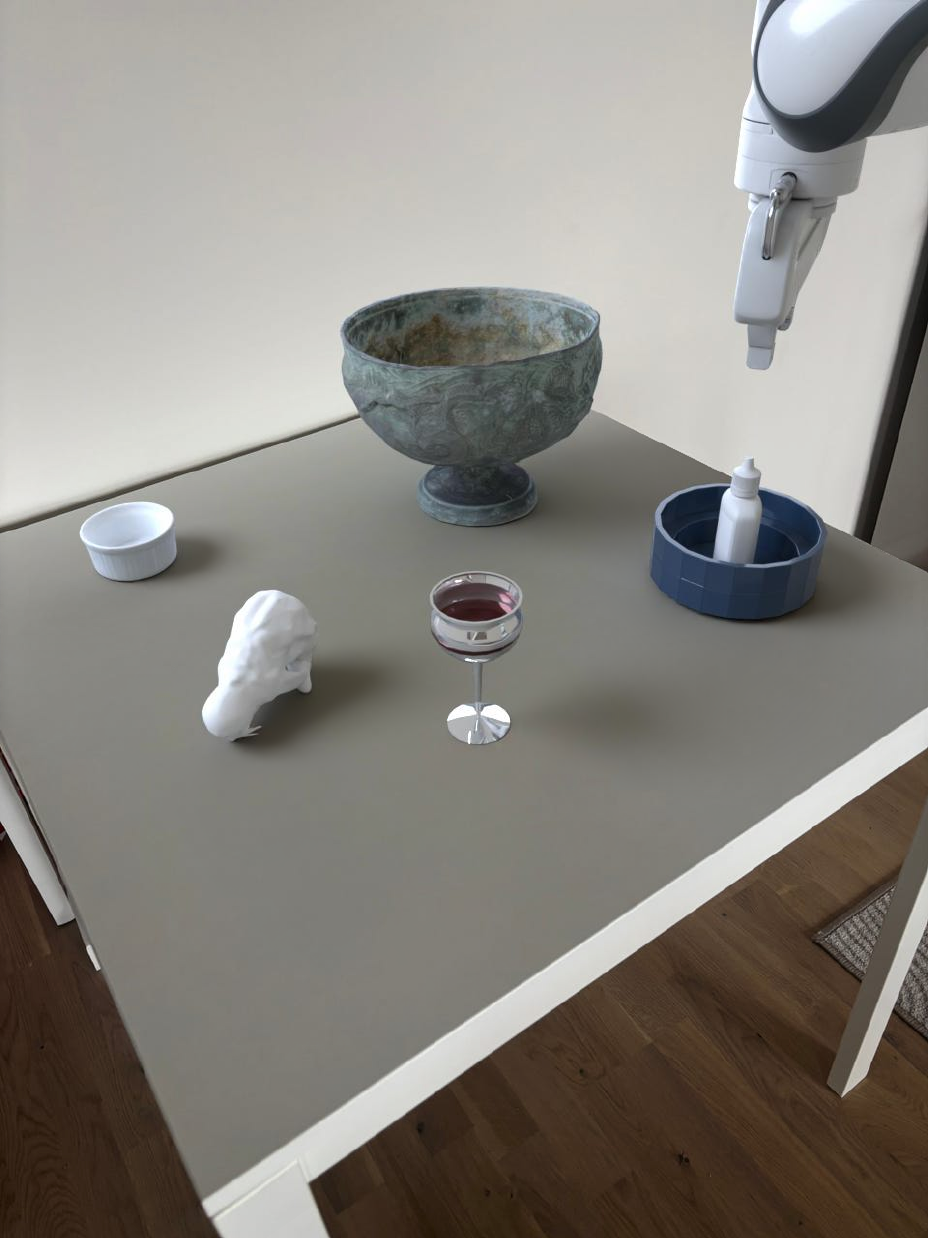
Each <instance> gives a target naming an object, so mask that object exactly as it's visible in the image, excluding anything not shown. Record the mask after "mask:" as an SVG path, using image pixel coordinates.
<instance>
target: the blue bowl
mask: <svg viewBox="0 0 928 1238" xmlns="http://www.w3.org/2000/svg"><path fill="white" fill-rule="evenodd" d="M730 487H731V483H717V482H716V483H708V484H700V485H695V486H694V485H693V486H691V487H688V488H684V489H682V490H679V491H676V492H673V493H671V495H669V496H668V497H666V498H665V499H663V500H661V502H659V503H660V504H659V505H658V507H657V509H656V510H655V512H654V515H653V525H652V532H651V533H652V534H651V543H650V553H649V561H648V562H649V570H650V572H649V573H650V577H651V578H652V581H653V582H654V583H655V584H656V586H657V588H658V589H659V590H660V591H661V592H662V593H664V594H665V595H667V597H669V598H671V599H672V600H673V601H675V602H676V603H678V604H680V605H682V606H685V607H688V608H689V609H691V610H695V611H697V612H699V613H703V614H707V615H712V616H715V617H716V616H717V617H721V618H725V619H738V620H739V619H741V620H760V619H766V618H774V617H779V616H783V615H785V614H788V613H790V612H792V611H795V610H798V609H800V608H801V607H802V606H804V605H805V604H806V603H807V601H809V600H810V599H811V598H812V597H813V595H814V594H815V593H814V592H815V589H816V586H817V581H818V577H819V573H820V569H821V564H822V560H823V555H824V551H825V547H826V542H827V538H828V529H827V527H826V524H825V522H824V520H823V518H822V517H821V516H820V515H819V514H818V513H817V512H816V511H815V510H814V509H813V508H812V507H811V506H809V505H808V504H806V503H804V502H802V501H801V500H798V499H797V498H795V497H794V496H791V495H788V494H786V493H783V492H780V491H776V490H773V489H771V488H767V487H761V486H759V490H758V496H759V498H760V500H761V504H762V514H761V521H760V526H759V532H758V538H757V543H756V549H755V554H754V560H753V564H736V563H731V562H726V561H721V560H716V559H713V554H714V548H715V541H716V534H717V528H718V521H719V515H720V508H721V502H722V497H723V495H724V493H725V491H726V490H727V489H729V488H730Z"/></svg>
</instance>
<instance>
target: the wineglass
mask: <svg viewBox="0 0 928 1238" xmlns="http://www.w3.org/2000/svg"><path fill="white" fill-rule="evenodd" d="M523 599H524V596H523V592H522V589H521V588H520V586H519V585H518V584H517V582H516V581H515V580H512V579H511V578H509V577H507V576H505V575H503V574H499V573H496V572H494V571H493V572H492V571H483V570H473V571H471V570H470V571H463V572H459V573H454V574H451V575H450V576H448V577H445V578H443V579H440V581H439V582H438V583H436V585H434V586H433V587H432V589H431V592H430V594H429V602H430V605H431V607H432V609H431V612H430V615H429V620H430V632H431V635H432V636H433V639H435V642H436V644H438V646H439V647H440V649H441V650H442V651H444V652H445V653H446V654H448V655H449V656H451V657H453V658H454V659H456V660H459V661H461V662H464V663H467V664H472V676H473V677H472V678H473V679H472V680H473V690H474V701H473V702H471V701H470V702H467V703H464V704H461V705H460V706H457V707H456V708H454V709H453V710H452V712H450V713H449V715H448V716H447V717H448V718H447V720H446V725H447V729H448V731H449V733H450V734H451V736H453V737H455V739H457V740H459V741H461V742H464V743H466V744H472V745H483V744H484V745H485V744H489V743H490V744H491V743H493V742H496V741H498V740H499V739H502V738H503V737H505V735H506V734H507V733H508V732H509V729H510V726H511V720H510V719H511V718H510V716H509V714H508V713H507V712H506V710H505V709H503V708H502V707H500V705H496V704H494V703H491V702H486V701H482V693H483V691H482V689H483V665H484V664H485V663H490V662H493V661H495V660H497V659H498V658H500V657H502V656H503V655H505V654H507V653H508V652H510V651H511V650H512V649H513V647H514V646H515V645H516V644H517V642H518V640H519V638H520V636H521V632H522V629H523V624H524V617H523V613H522V608H521V604H522V601H523Z"/></svg>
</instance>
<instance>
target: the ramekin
mask: <svg viewBox="0 0 928 1238" xmlns="http://www.w3.org/2000/svg"><path fill="white" fill-rule="evenodd" d="M79 536H80V540H81V541H82V543H83V544H84V545H85V546H86V550H87V551H88V555H89V557H90V559H91V562H92V565H93V567H94V569H95V571H97V573H99V574H100V575H101V576H102V577H104V578H106V579H109V580H113V581H119V582H133V581H140V580H143V579H148V578H150V577H153V576H156V575H157V574H160V573H161V572H163V571H165V570H166V569H167V568H169V567H170V566H171V565H172V564H173V562H174V561H175V559H176V557H177V553H178V549H177V541H176V535H175V516H174V513H173V512H172V511H171V509H170V508H168V507H167V506H165V505H162V504H159V503H156V502H150V501H132V502H125V503H119V504H115V505H112V506H108V507H106V508H103V509H102V510H99V511H98V512H95V513H94V514H92V515H91V516H90V517H88V518H87V519H86V520H85V521H84V522H83V524H82V525H81V527H80V530H79Z"/></svg>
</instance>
